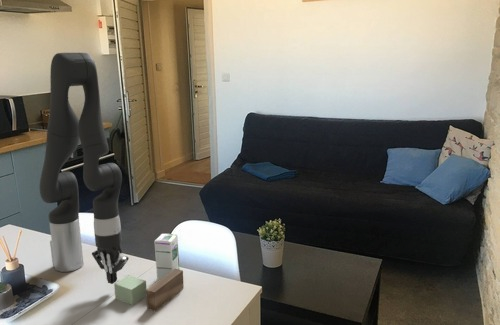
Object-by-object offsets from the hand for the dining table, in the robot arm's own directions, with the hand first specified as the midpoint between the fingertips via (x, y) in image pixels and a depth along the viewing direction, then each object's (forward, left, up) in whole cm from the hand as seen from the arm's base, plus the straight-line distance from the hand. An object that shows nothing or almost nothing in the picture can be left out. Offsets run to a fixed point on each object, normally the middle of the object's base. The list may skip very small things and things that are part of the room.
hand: (112, 282), depth 131 cm
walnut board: (+17, +4, -3) cm, 18 cm away
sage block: (+7, 0, -3) cm, 8 cm away
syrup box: (+11, +14, -3) cm, 18 cm away
